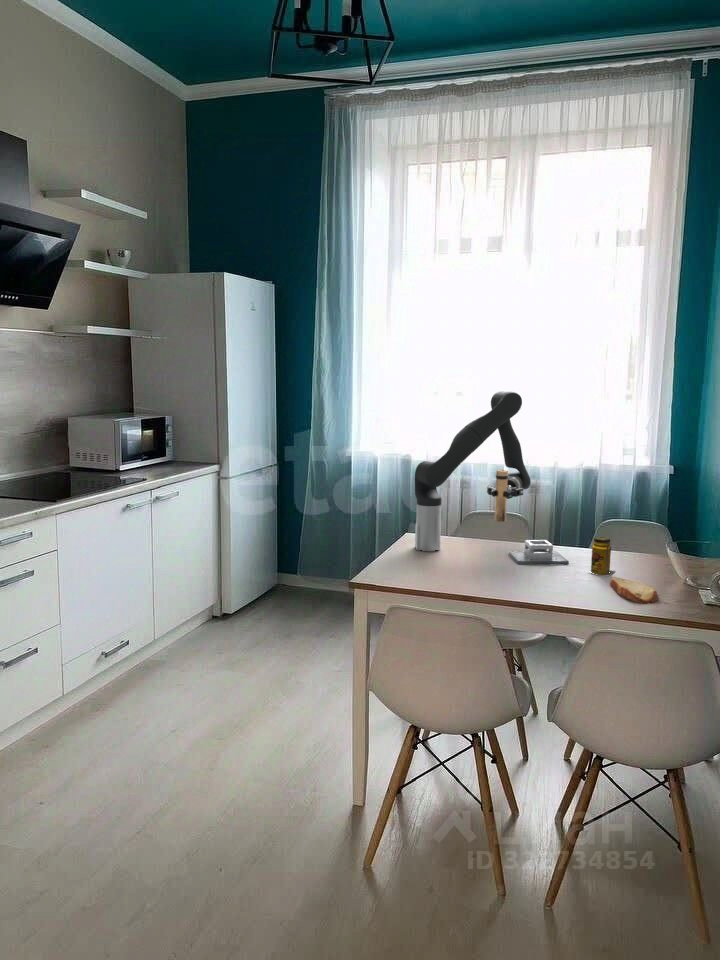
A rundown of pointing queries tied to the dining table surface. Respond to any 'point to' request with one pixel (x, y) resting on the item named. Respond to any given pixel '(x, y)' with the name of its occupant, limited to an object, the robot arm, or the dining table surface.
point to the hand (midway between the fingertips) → (499, 494)
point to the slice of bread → (634, 590)
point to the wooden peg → (501, 495)
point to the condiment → (601, 557)
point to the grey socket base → (538, 554)
